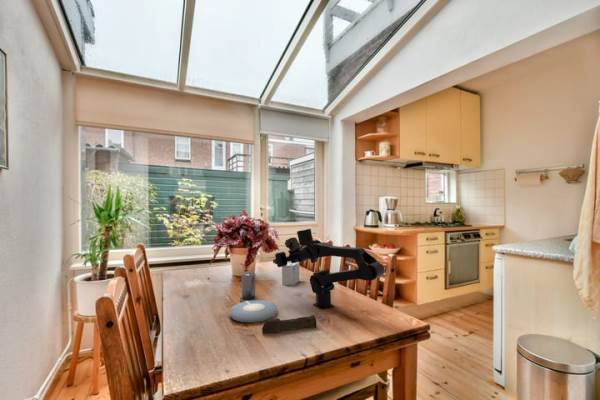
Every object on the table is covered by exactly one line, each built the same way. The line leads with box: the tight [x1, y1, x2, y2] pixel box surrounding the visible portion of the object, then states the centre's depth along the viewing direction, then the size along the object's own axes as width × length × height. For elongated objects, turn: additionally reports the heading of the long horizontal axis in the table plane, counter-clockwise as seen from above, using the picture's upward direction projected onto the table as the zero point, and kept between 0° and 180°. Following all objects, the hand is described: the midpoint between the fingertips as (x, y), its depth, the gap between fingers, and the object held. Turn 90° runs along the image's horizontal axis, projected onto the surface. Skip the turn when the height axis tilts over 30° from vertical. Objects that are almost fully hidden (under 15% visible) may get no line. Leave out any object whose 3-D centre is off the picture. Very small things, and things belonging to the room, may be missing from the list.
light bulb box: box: [281, 261, 301, 287], centre depth 155 cm, size 11×7×11 cm, turn 161°
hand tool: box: [261, 314, 318, 335], centre depth 98 cm, size 19×4×5 cm, turn 105°
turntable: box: [230, 299, 278, 323], centre depth 111 cm, size 18×18×2 cm
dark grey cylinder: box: [239, 271, 258, 303], centre depth 127 cm, size 8×8×12 cm
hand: (280, 260), depth 136 cm, fingers open, 9 cm apart
